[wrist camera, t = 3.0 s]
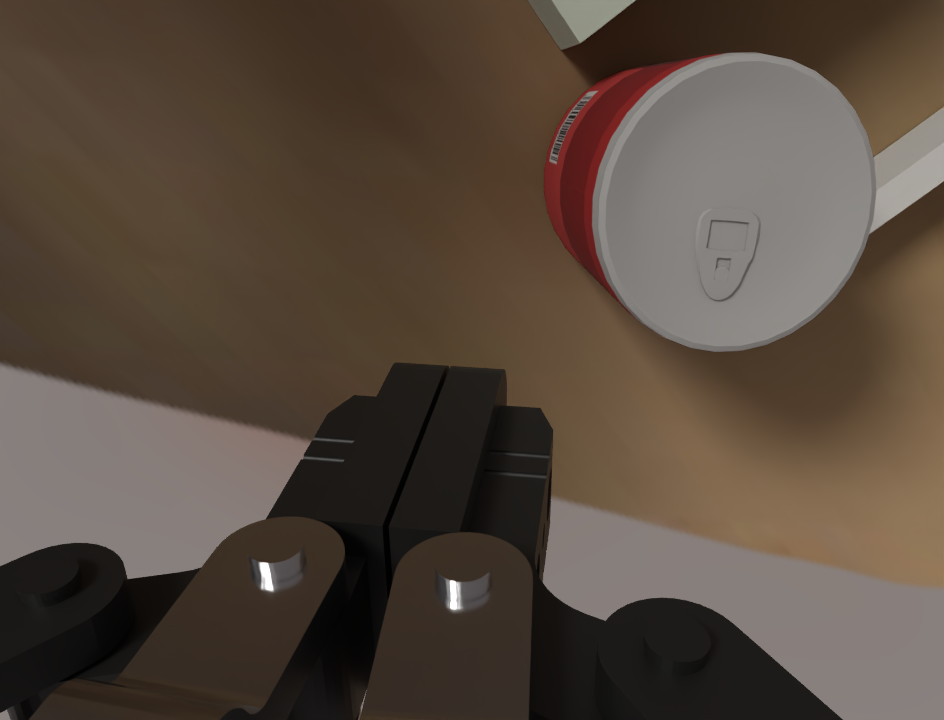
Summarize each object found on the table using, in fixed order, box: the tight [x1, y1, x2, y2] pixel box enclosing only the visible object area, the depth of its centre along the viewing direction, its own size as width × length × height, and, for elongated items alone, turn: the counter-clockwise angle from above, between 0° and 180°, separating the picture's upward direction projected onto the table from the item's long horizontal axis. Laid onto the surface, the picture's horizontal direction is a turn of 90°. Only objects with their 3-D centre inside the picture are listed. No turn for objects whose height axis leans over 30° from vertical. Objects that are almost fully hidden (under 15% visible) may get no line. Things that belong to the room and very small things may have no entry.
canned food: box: [544, 52, 876, 352], centre depth 29 cm, size 8×8×11 cm
